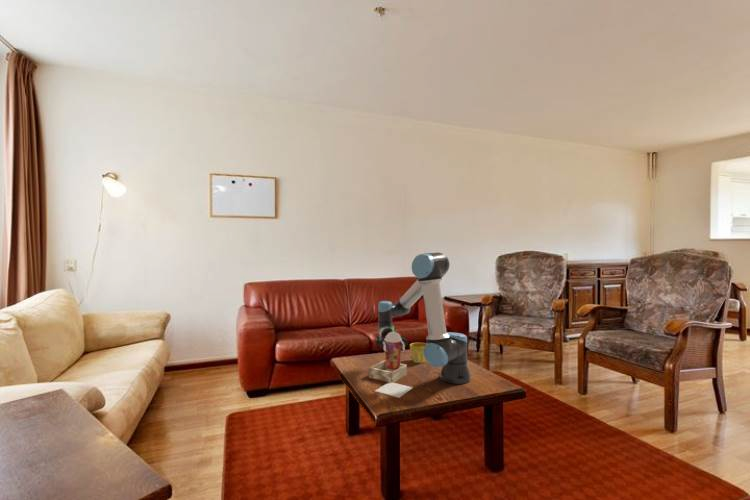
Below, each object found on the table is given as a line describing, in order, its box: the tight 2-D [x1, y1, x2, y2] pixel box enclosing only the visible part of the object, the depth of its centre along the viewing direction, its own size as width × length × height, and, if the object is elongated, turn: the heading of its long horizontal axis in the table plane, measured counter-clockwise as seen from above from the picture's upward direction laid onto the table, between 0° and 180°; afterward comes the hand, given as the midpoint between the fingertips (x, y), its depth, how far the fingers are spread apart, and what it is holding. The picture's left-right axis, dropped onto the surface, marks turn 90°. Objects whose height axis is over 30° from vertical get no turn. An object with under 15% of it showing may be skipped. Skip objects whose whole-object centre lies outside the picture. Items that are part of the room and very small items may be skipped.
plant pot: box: [409, 342, 427, 364], centre depth 216 cm, size 10×10×10 cm
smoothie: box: [384, 325, 402, 370], centre depth 175 cm, size 8×8×20 cm
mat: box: [374, 382, 414, 399], centre depth 175 cm, size 13×13×1 cm
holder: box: [368, 359, 408, 383], centre depth 193 cm, size 14×14×5 cm
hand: (394, 347), depth 170 cm, fingers closed on smoothie, 8 cm apart
